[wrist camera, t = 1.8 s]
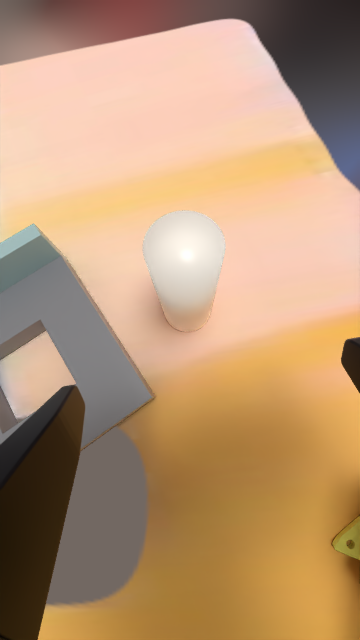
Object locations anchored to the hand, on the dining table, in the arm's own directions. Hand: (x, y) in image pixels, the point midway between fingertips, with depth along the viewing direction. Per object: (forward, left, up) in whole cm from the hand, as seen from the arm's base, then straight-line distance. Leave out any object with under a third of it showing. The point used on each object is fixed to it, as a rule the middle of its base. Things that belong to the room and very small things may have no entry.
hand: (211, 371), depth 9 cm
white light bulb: (+5, +3, -12) cm, 14 cm away
